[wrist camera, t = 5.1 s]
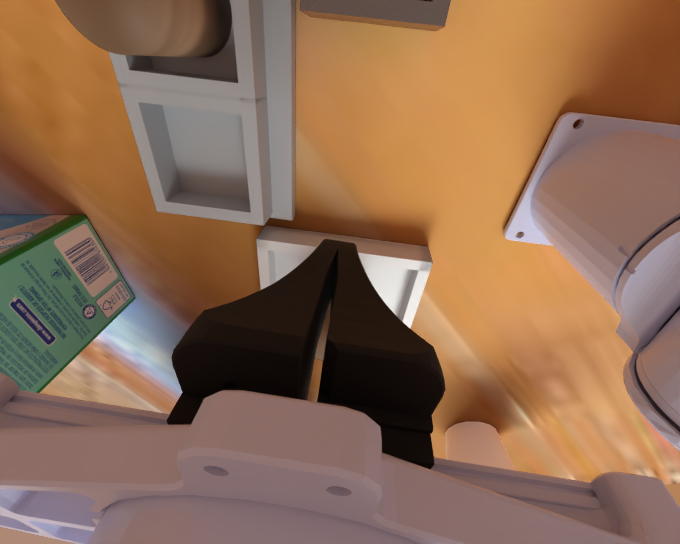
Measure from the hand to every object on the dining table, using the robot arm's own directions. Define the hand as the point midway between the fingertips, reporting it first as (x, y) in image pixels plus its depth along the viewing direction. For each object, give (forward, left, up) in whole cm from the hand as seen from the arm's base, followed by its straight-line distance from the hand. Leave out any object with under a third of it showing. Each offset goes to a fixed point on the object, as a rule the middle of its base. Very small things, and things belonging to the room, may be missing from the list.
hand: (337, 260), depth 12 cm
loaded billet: (+9, -8, -8) cm, 15 cm away
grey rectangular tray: (+9, -5, -9) cm, 14 cm away
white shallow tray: (0, +9, -9) cm, 13 cm away
